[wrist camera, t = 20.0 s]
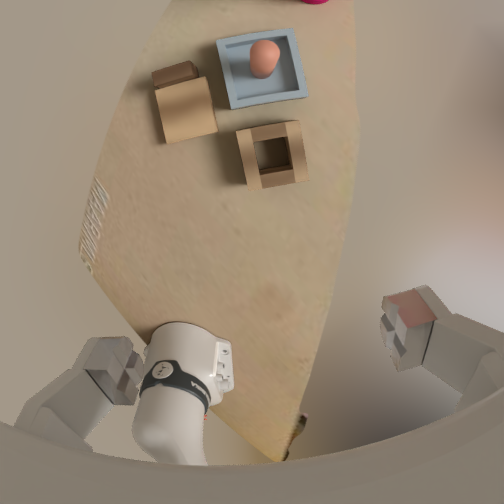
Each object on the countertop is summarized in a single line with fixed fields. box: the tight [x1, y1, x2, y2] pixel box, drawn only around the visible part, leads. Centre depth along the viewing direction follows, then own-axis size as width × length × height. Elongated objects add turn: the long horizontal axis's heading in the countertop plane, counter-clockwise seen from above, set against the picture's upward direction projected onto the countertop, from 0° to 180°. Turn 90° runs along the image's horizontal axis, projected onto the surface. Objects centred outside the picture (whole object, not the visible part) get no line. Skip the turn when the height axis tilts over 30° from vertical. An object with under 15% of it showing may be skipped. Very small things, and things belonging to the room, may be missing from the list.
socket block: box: [236, 120, 309, 191], centre depth 37 cm, size 8×8×4 cm
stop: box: [152, 61, 199, 88], centre depth 31 cm, size 2×5×5 cm, turn 101°
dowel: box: [250, 40, 280, 79], centre depth 28 cm, size 3×3×10 cm
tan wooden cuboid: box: [155, 76, 219, 144], centre depth 35 cm, size 8×7×2 cm
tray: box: [216, 28, 309, 110], centre depth 32 cm, size 10×10×3 cm
